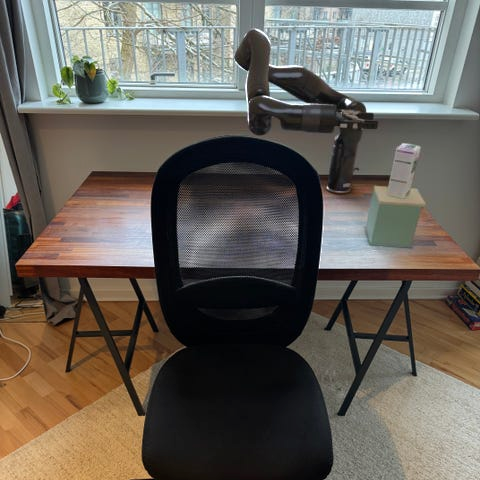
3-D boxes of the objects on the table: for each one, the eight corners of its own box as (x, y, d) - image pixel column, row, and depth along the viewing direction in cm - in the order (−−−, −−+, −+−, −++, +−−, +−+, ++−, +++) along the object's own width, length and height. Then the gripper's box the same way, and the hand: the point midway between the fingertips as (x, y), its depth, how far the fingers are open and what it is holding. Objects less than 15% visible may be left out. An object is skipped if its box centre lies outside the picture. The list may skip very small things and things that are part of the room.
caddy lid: (416, 190, 145) (416, 188, 145) (425, 206, 135) (425, 204, 135) (373, 188, 146) (374, 185, 145) (379, 203, 136) (380, 201, 135)
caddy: (403, 230, 153) (413, 190, 145) (410, 247, 143) (422, 206, 135) (365, 227, 154) (373, 188, 146) (370, 245, 144) (379, 203, 136)
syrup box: (404, 199, 137) (417, 150, 128) (385, 195, 139) (396, 146, 130) (409, 193, 141) (422, 145, 132) (390, 189, 143) (402, 142, 134)
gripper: (315, 125, 137) (369, 128, 136) (317, 139, 126) (376, 142, 125) (318, 98, 133) (374, 101, 131) (320, 110, 121) (382, 112, 120)
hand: (375, 121), depth 128 cm, fingers open, 8 cm apart
